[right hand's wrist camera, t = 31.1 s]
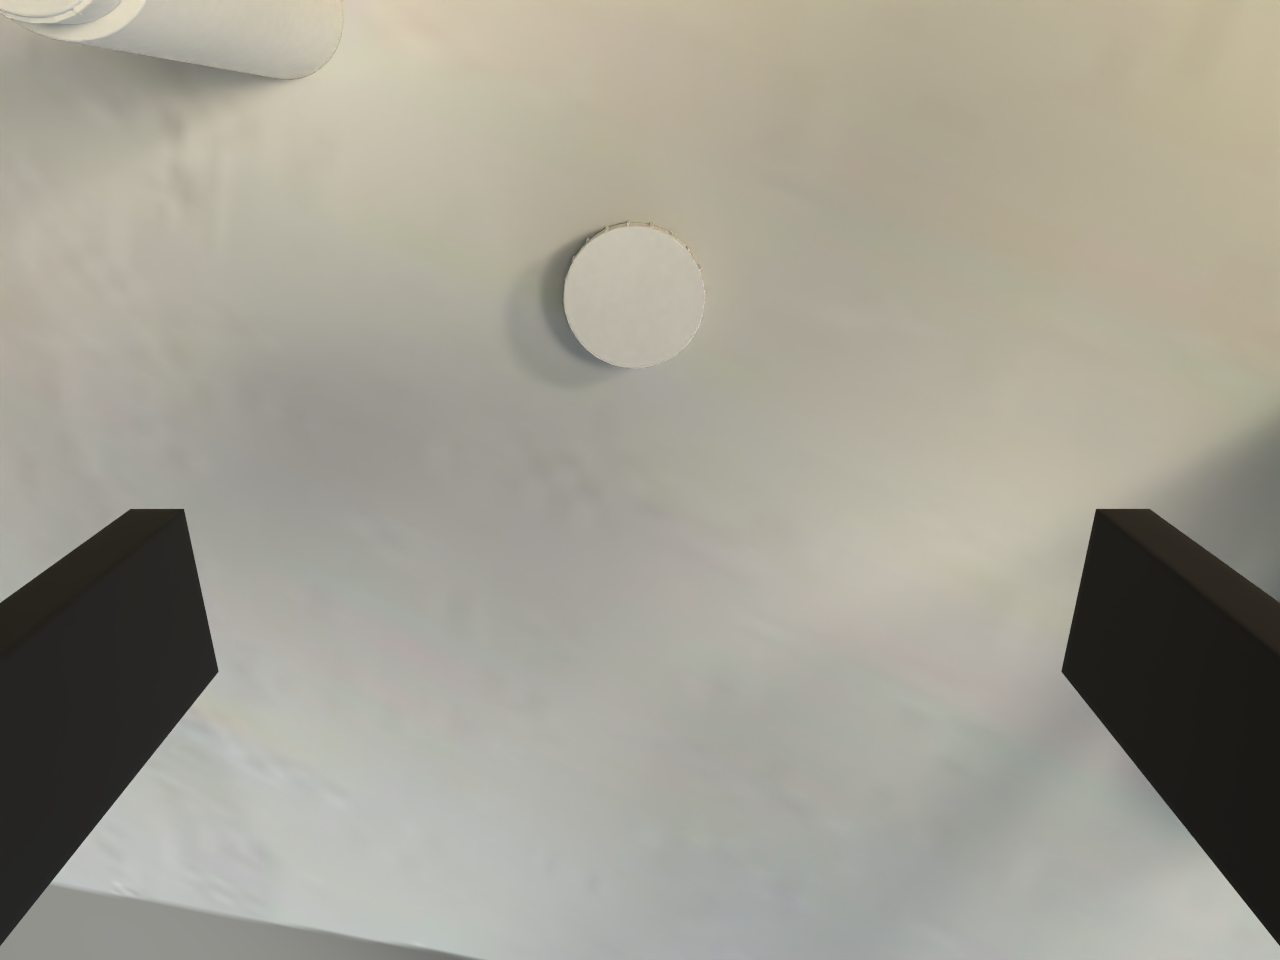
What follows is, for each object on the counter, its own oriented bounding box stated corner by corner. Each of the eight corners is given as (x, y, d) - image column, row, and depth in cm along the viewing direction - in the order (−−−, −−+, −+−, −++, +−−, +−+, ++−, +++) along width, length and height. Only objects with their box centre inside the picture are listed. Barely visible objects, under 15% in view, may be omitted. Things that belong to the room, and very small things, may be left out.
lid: (710, 227, 36) (713, 231, 34) (695, 365, 38) (698, 375, 37) (568, 215, 36) (565, 219, 34) (562, 355, 38) (559, 364, 36)
